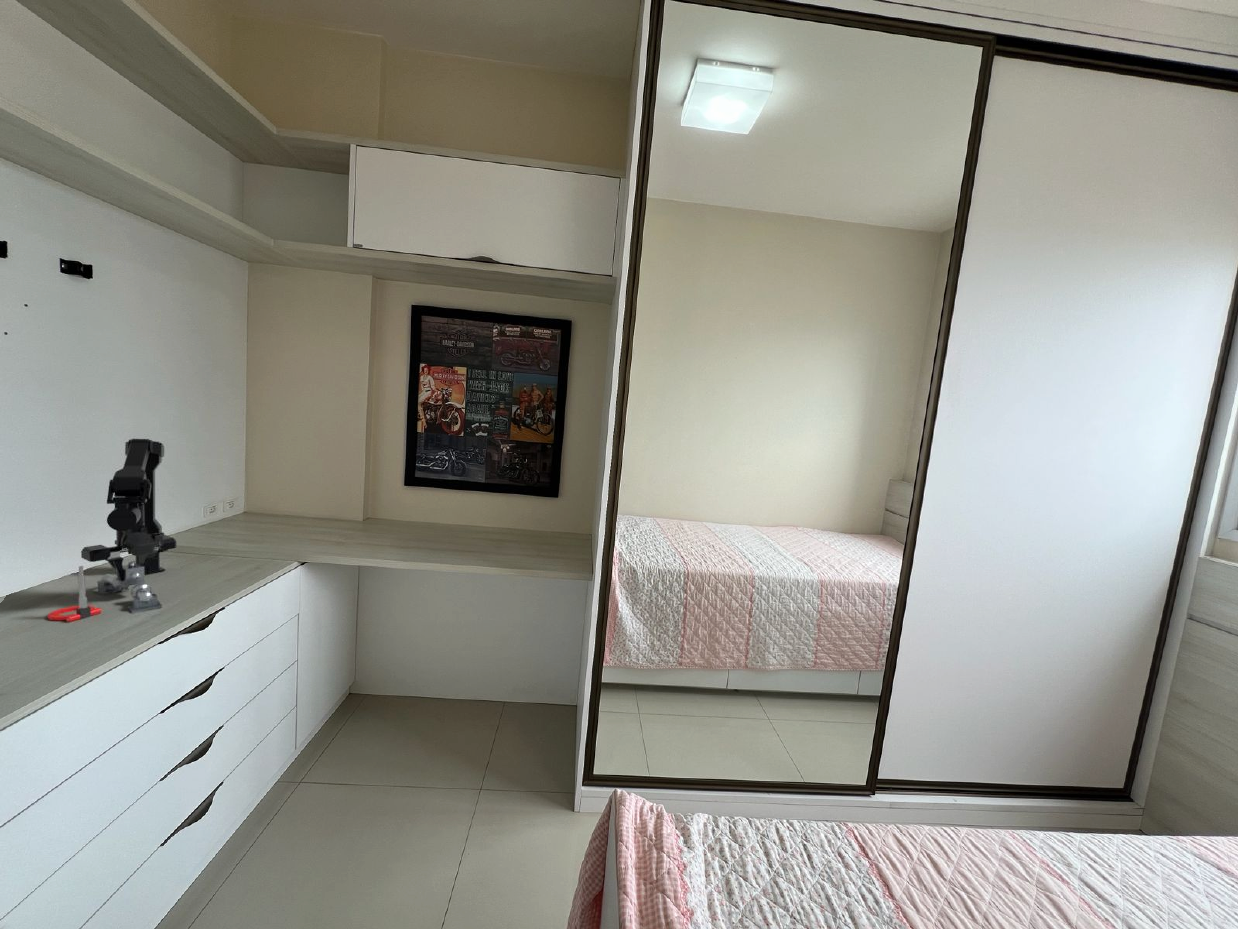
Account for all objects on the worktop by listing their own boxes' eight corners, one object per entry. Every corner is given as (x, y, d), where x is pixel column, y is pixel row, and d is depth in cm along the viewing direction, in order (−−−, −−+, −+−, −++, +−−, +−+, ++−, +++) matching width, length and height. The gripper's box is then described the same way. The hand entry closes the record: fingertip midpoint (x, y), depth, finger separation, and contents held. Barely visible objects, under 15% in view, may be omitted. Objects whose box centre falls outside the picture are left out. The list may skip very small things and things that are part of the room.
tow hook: (38, 619, 138) (65, 624, 136) (35, 567, 137) (62, 571, 135) (80, 608, 146) (105, 612, 144) (77, 558, 145) (103, 562, 143)
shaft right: (162, 607, 149) (161, 588, 149) (132, 613, 145) (131, 593, 144) (155, 599, 154) (155, 581, 153) (126, 604, 149) (126, 585, 149)
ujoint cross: (117, 581, 153) (116, 561, 153) (135, 578, 157) (135, 558, 156) (128, 587, 150) (127, 566, 150) (146, 583, 154) (146, 563, 153)
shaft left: (92, 592, 156) (91, 574, 155) (116, 585, 161) (116, 568, 161) (110, 596, 154) (110, 578, 153) (135, 590, 159) (134, 572, 159)
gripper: (98, 533, 140) (100, 595, 141) (186, 521, 156) (187, 577, 158) (79, 525, 145) (81, 585, 147) (166, 515, 161) (166, 568, 163)
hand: (131, 579), depth 153 cm, fingers closed on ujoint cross, 4 cm apart
